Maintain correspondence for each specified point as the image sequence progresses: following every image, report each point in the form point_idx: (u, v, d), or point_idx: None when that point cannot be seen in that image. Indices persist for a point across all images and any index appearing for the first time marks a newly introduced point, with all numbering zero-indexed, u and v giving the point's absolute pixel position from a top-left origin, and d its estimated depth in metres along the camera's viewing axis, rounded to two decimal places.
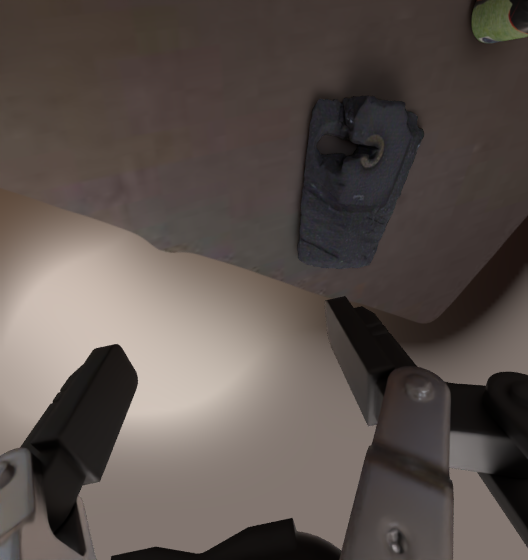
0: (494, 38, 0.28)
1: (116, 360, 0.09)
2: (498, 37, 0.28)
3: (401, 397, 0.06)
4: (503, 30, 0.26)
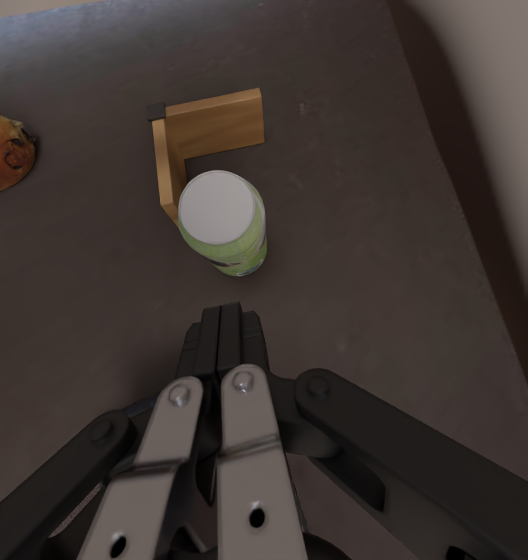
0: (241, 272, 0.25)
1: None
2: (240, 271, 0.24)
3: (234, 397, 0.06)
4: (229, 269, 0.23)
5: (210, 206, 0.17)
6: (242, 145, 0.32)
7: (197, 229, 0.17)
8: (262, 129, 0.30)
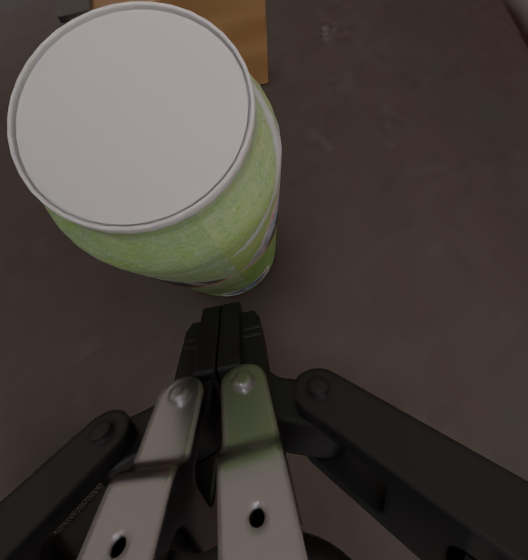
0: (230, 291, 0.13)
1: None
2: (228, 290, 0.13)
3: (234, 397, 0.06)
4: (203, 290, 0.11)
5: (111, 111, 0.05)
6: None
7: (64, 185, 0.05)
8: (265, 55, 0.18)
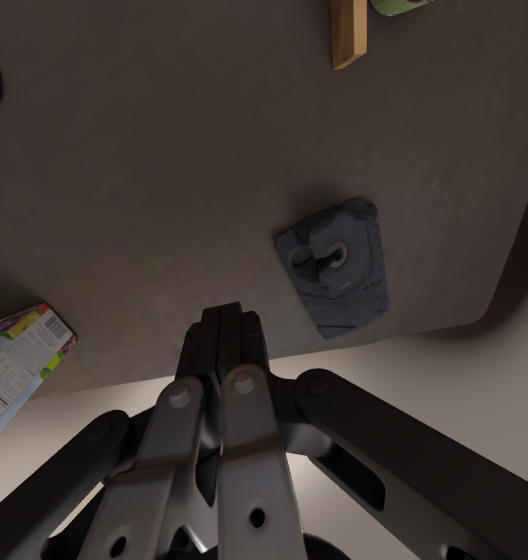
0: (402, 11, 0.26)
1: None
2: (404, 10, 0.25)
3: (234, 397, 0.06)
4: (404, 6, 0.24)
5: None
6: None
7: None
8: None
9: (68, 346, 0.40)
